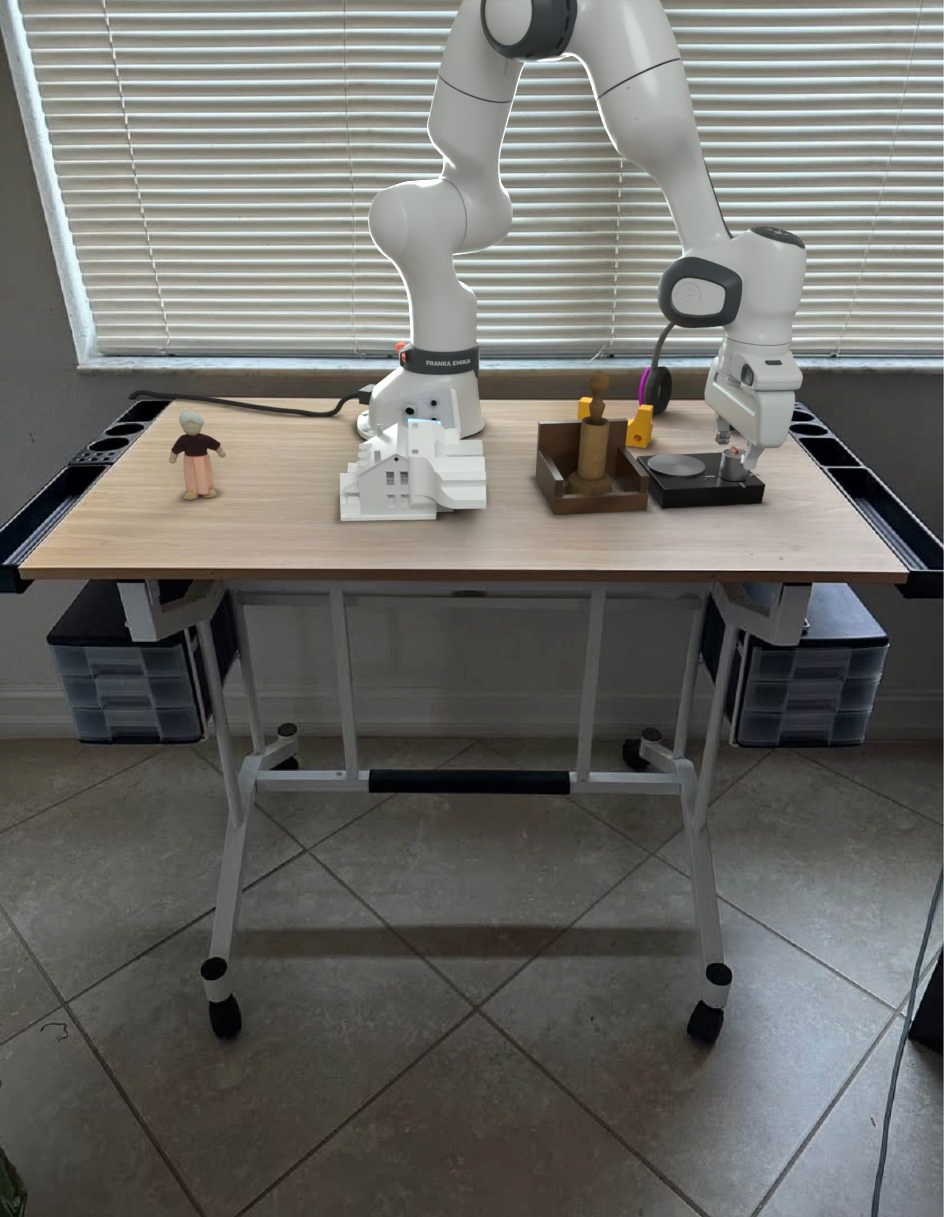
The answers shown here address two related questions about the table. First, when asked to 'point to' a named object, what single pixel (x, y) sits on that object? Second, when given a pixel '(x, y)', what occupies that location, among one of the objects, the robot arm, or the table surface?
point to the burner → (676, 465)
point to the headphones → (658, 381)
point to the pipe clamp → (637, 427)
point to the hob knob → (732, 465)
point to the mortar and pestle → (593, 443)
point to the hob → (702, 486)
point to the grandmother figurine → (196, 455)
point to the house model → (413, 474)
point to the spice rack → (561, 461)
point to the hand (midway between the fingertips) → (734, 455)
